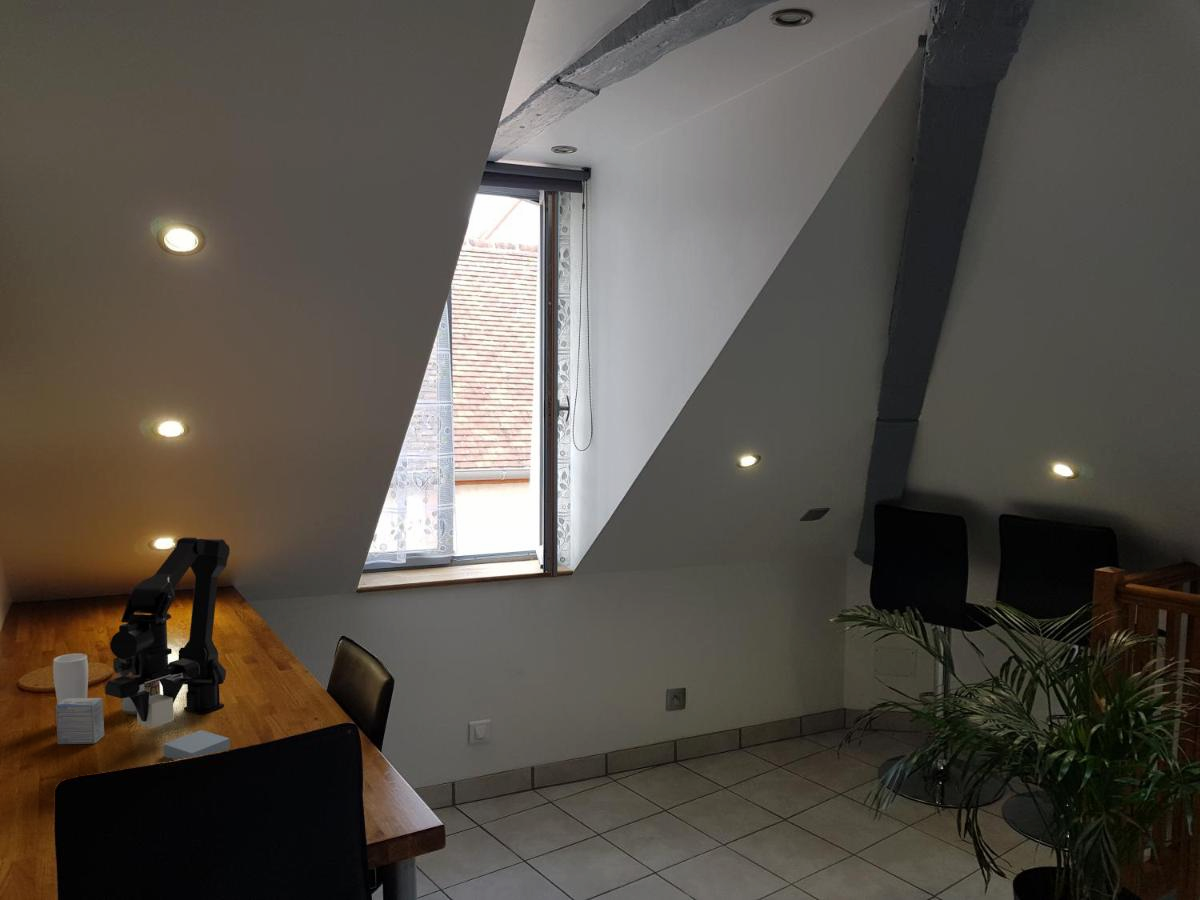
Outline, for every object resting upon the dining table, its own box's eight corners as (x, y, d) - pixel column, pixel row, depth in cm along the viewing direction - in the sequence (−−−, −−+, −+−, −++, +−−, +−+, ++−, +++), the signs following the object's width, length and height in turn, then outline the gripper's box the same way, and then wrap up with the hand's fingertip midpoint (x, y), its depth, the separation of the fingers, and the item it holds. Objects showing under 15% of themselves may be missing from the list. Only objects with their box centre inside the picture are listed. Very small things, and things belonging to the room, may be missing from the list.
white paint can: (151, 716, 223) (149, 664, 222) (113, 717, 222) (111, 665, 221) (166, 702, 232) (164, 652, 231) (129, 703, 231) (127, 653, 230)
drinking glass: (86, 727, 216) (83, 660, 215) (52, 730, 214) (49, 663, 213) (93, 716, 223) (90, 652, 221) (60, 719, 221) (56, 654, 219)
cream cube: (158, 716, 211) (157, 693, 211) (173, 720, 209) (172, 697, 208) (137, 723, 207) (136, 700, 207) (152, 728, 205) (151, 704, 204)
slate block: (201, 743, 208) (201, 730, 208) (229, 752, 204) (229, 738, 203) (163, 758, 200) (163, 744, 200) (192, 767, 196) (191, 753, 196)
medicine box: (105, 736, 211) (103, 697, 210) (95, 744, 207) (93, 704, 206) (67, 737, 211) (65, 697, 210) (57, 745, 206) (55, 704, 206)
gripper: (167, 629, 219) (169, 697, 220) (87, 650, 202) (90, 724, 204) (200, 636, 213) (202, 706, 214) (120, 658, 197) (123, 734, 198)
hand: (155, 717), depth 208 cm, fingers closed on cream cube, 5 cm apart
